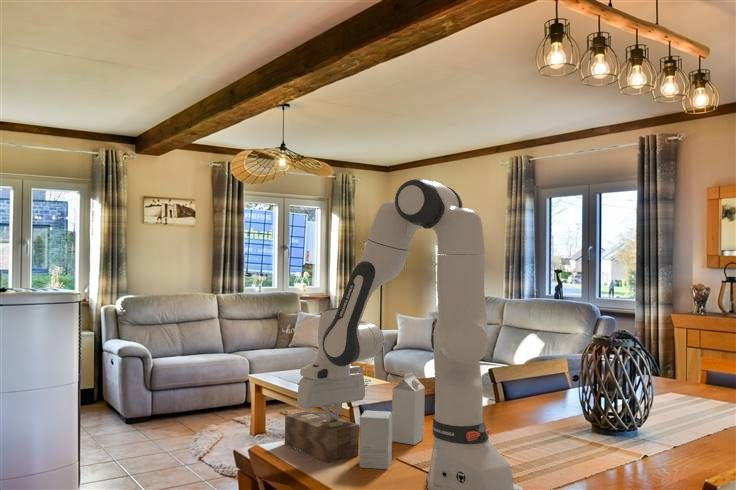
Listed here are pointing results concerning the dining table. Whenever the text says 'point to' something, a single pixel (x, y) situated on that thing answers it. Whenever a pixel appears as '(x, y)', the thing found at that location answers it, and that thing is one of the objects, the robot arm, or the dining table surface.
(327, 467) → the dining table surface
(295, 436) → the walnut block
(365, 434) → the supplement box
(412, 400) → the milk carton
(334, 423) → the birch peg near
